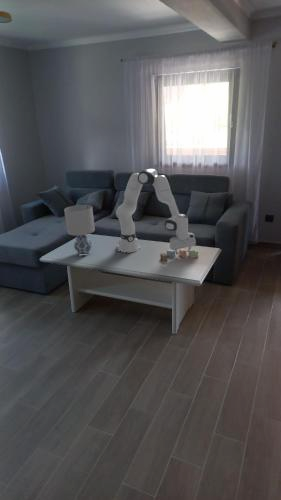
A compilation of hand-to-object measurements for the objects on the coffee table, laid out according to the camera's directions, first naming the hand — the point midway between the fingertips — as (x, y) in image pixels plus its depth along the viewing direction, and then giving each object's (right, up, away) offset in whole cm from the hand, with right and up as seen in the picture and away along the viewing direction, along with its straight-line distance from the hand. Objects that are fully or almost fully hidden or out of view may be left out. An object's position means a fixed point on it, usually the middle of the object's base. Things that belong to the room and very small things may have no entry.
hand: (182, 253), depth 262 cm
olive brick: (+8, -3, -3) cm, 9 cm away
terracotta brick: (0, -2, +1) cm, 2 cm away
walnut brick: (-15, -5, -5) cm, 16 cm away
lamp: (-78, -1, +18) cm, 80 cm away
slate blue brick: (-9, -2, +2) cm, 9 cm away
